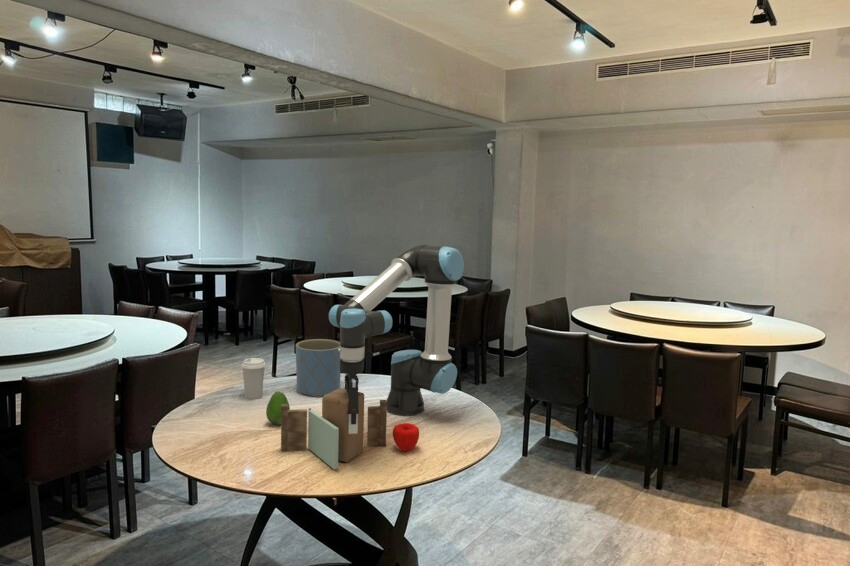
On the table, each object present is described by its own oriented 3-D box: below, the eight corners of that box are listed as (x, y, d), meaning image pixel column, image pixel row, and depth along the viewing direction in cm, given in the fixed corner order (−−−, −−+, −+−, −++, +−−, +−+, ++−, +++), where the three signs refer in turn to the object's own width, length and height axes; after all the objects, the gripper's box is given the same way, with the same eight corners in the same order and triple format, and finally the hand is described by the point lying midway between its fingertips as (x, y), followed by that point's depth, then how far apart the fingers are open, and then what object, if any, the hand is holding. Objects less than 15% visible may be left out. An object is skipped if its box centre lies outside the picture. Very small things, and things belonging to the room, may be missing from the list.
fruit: (272, 418, 210) (272, 386, 208) (293, 421, 209) (293, 389, 207) (262, 426, 202) (262, 393, 201) (283, 429, 201) (283, 396, 199)
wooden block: (346, 464, 176) (348, 401, 173) (320, 456, 181) (320, 395, 178) (364, 451, 185) (365, 392, 182) (338, 445, 189) (339, 386, 187)
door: (337, 468, 172) (338, 427, 170) (334, 469, 171) (335, 427, 170) (310, 446, 187) (311, 407, 185) (307, 447, 186) (307, 408, 184)
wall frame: (384, 442, 193) (385, 399, 191) (385, 445, 191) (387, 402, 189) (281, 448, 185) (281, 403, 183) (280, 451, 183) (281, 406, 181)
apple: (393, 442, 194) (393, 420, 192) (419, 443, 193) (420, 421, 192) (390, 454, 185) (391, 430, 184) (418, 455, 184) (419, 432, 183)
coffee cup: (247, 391, 237) (247, 356, 235) (269, 393, 236) (269, 358, 234) (236, 399, 228) (236, 362, 226) (259, 401, 227) (259, 364, 225)
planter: (319, 401, 230) (320, 352, 227) (285, 391, 240) (285, 344, 237) (350, 389, 246) (351, 343, 243) (317, 380, 256) (318, 336, 253)
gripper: (336, 349, 189) (335, 411, 192) (343, 371, 166) (342, 441, 169) (359, 348, 191) (358, 410, 194) (369, 370, 168) (367, 440, 171)
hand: (350, 425), depth 182 cm, fingers open, 12 cm apart
